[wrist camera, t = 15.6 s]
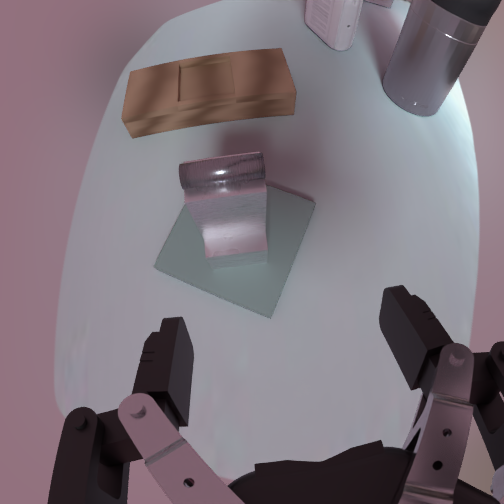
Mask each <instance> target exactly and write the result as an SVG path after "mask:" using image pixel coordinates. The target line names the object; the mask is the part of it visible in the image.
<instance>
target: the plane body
mask: <svg viewBox="0 0 504 504" xmlns="http://www.w3.org/2000/svg"><path fill="white" fill-rule="evenodd" d="M295 100H296V89H295V86H294V83H293V80H292V77H291V74H290V71H289V68H288V65H287V63H286V60H285V57H284V54H283V51H282V48H277V49H261V50H249V51H239V52H230V53H222V54H215V55H208V56H202V57H195V58H190V59H184V60H179V61H174V62H169V63H164V64H160V65H155V66H151V67H147V68H143V69H139V70H135V71H131V72H130V75H129V80H128V85H127V90H126V95H125V100H124V106H123V112H122V118H121V119H122V121H123V123H124V125H125V126H126V128H127V130H128V132H129V133H130V135H131V137H132V139H133V138H137V137H142V136H146V135H151V134H156V133H161V132H166V131H171V130H176V129H181V128H187V127H193V126H199V125H205V124H212V123H219V122H226V121H234V120H242V119H250V118H260V117H270V116H282V115H294V108H295Z"/></svg>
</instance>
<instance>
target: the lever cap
mask: <svg viewBox="0 0 504 504" xmlns="http://www.w3.org/2000/svg"><path fill="white" fill-rule="evenodd" d="M179 177H180V182H181V186H182V188H183V189H184V195H185V204H186V206H187V208H188V210H189V212H190V214H191V216H192V218H193V219H194V221H195V223H196V225H197V227H198V229H199V231H200V233H201V235H202V237H203V239H204V243H205V256H206V259H207V261H208V262H209V264H210V265H211V267H212V269H213V270H214V269H222V268H230V267H238V266H246V265H254V264H262V263H267V258H268V246H267V239H266V199H267V190H266V184H265V167H264V159H263V154H262V153H260V152H251V153H243V154H235V155H227V156H220V157H213V158H206V159H199V160H193V161H187V162H184V163H183V164H180V165H179Z"/></svg>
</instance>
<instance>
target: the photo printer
mask: <svg viewBox="0 0 504 504" xmlns="http://www.w3.org/2000/svg"><path fill="white" fill-rule="evenodd" d="M362 4H363V0H307V4H306V12H305V23H306V24H307V25H308V26H309V27H310V28H311V29H312V30H313V31H314V32H315V33H316V34H317V35H318V36H319V37H320V38H321V39H322V40H323V41H324V42H325V43H326V44H327V45H328V46H330V47H331V48H332V49H335V50H338V51H345V50H348V49H349V47H351V46H352V44H353V40H354V36H355V32H356V28H357V25H358V20H359V17H360V13H361V8H362Z"/></svg>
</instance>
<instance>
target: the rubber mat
mask: <svg viewBox="0 0 504 504" xmlns="http://www.w3.org/2000/svg"><path fill="white" fill-rule="evenodd" d="M266 190H267V199H266V239H267V246H268V258H267V263H262V264H254V265H246V266H238V267H230V268H222V269H214V270H213V269H212V267H211V265H210V264H209V262H208V261H207V259H206V256H205V243H204V239H203V237H202V235H201V233H200V231H199V229H198V227H197V225H196V223H195V221H194V219H193V218H192V216H191V214H190V212H189V210H188V208H187V206H186V204H185V206H184V208H183V210H182V212H181V213H180V215H179V217H178V219H177V221H176V223H175V225H174V227H173V229H172V231H171V233H170V235H169V237H168V239H167V241H166V243H165V245H164V247H163V249H162V251H161V253H160V255H159V257H158V259H157V261H156V263H155V265H154V268H156V269H157V270H159V271H161V272H163V273H166V274H168V275H170V276H172V277H174V278H177V279H179V280H181V281H183V282H186V283H188V284H190V285H192V286H195V287H197V288H199V289H201V290H204V291H206V292H208V293H210V294H213V295H215V296H217V297H220V298H222V299H224V300H227V301H229V302H232V303H234V304H236V305H239V306H241V307H243V308H246V309H248V310H251V311H253V312H256V313H258V314H260V315H263V316H265V317H268V318H270V319H271V316H272V314H273V311H274V309H275V307H276V304H277V302H278V299H279V297H280V294H281V292H282V289H283V287H284V285H285V282H286V280H287V277H288V275H289V272H290V269H291V267H292V264H293V262H294V259H295V257H296V254H297V252H298V249H299V247H300V244H301V241H302V239H303V236H304V234H305V231H306V228H307V226H308V223H309V220H310V218H311V215H312V212H313V210H314V207H315V204H316V203H314V202H312V201H309V200H307V199H304V198H301V197H299V196H296V195H293V194H291V193H288V192H285V191H282V190H280V189H277V188H274V187H271V186H268V185H266Z"/></svg>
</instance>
